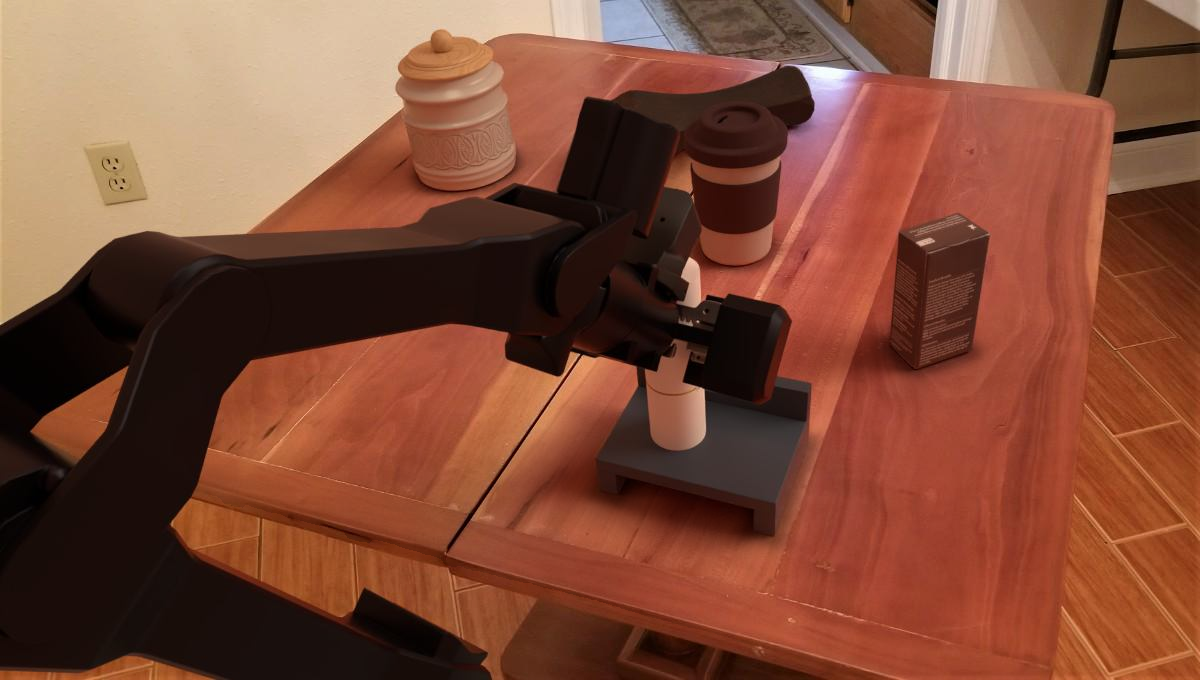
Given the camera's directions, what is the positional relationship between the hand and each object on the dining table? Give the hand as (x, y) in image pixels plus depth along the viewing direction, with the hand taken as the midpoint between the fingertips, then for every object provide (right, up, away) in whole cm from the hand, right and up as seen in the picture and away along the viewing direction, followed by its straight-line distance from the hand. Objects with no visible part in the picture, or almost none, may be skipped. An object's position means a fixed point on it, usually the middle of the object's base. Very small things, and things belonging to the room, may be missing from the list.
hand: (682, 342), depth 69 cm
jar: (-23, +22, +50) cm, 59 cm away
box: (+23, -1, +14) cm, 27 cm away
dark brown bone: (+6, +24, +48) cm, 54 cm away
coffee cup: (+8, +10, +30) cm, 32 cm away
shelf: (+2, -10, +5) cm, 11 cm away
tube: (0, -7, +4) cm, 8 cm away
